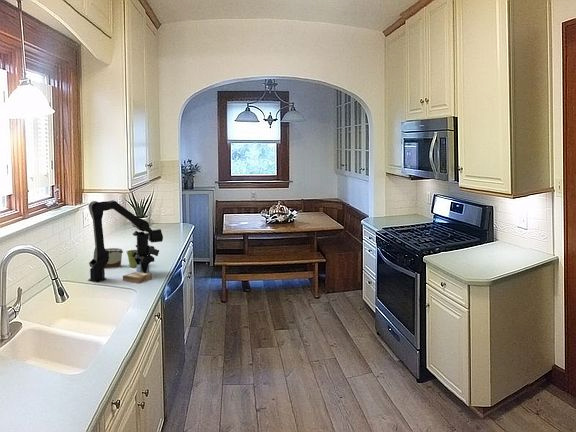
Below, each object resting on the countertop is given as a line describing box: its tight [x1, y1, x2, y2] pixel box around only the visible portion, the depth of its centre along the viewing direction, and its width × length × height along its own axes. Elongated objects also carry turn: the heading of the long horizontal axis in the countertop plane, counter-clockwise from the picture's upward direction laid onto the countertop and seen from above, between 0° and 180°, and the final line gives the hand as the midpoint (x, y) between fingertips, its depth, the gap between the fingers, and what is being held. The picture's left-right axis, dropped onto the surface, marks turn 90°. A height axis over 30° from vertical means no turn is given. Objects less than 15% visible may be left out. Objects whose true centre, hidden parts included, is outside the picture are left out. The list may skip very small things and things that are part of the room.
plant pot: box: [125, 249, 137, 268], centre depth 286 cm, size 9×9×9 cm
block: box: [136, 264, 150, 274], centre depth 269 cm, size 5×5×5 cm
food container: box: [104, 247, 124, 269], centre depth 284 cm, size 12×6×10 cm, turn 116°
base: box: [122, 271, 153, 284], centre depth 258 cm, size 10×10×3 cm
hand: (143, 272), depth 269 cm, fingers closed on block, 5 cm apart
